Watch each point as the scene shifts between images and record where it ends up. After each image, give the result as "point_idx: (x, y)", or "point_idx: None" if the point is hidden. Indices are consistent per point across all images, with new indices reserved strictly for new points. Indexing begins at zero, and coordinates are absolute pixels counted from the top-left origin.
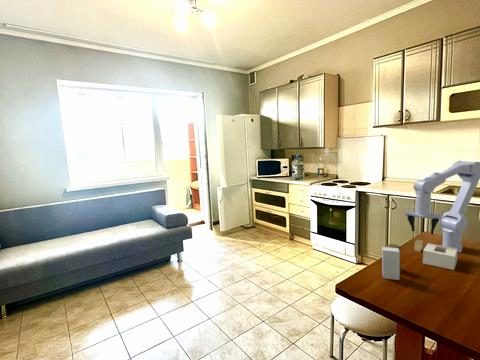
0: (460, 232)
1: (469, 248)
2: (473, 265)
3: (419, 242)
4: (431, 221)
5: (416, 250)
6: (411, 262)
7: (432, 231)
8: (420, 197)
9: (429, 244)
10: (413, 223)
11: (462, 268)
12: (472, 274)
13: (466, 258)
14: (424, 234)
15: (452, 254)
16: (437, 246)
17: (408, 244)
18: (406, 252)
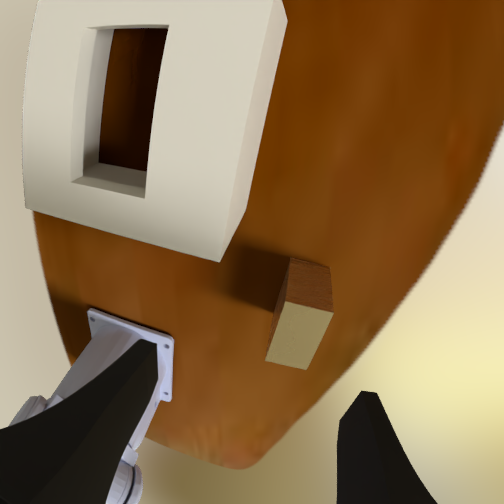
0: (33, 396)
1: None
2: None
3: (293, 318)
4: (30, 498)
5: (316, 267)
6: (369, 9)
7: (121, 363)
8: None
9: (204, 222)
10: (368, 500)
11: None
12: None
13: (60, 237)
14: (249, 460)
15: (42, 31)
16: (136, 195)
17: (347, 360)
18: (393, 214)
